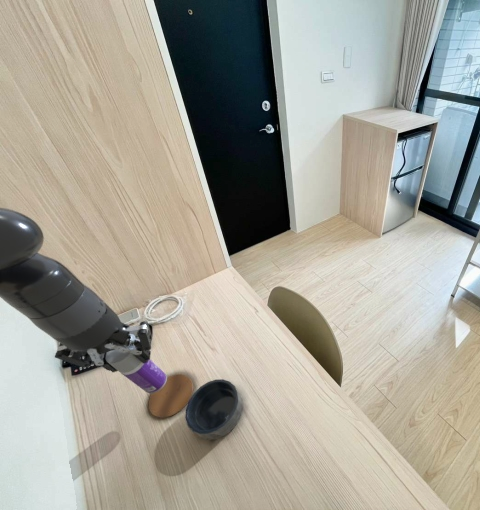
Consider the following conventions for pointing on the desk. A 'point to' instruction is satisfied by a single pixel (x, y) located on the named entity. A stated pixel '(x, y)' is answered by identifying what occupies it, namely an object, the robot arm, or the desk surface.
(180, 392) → the coaster
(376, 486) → the desk surface
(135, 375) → the container
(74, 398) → the desk surface
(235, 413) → the bowl
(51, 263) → the robot arm
